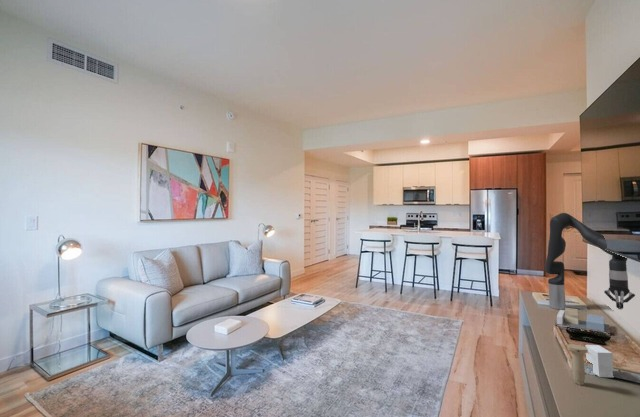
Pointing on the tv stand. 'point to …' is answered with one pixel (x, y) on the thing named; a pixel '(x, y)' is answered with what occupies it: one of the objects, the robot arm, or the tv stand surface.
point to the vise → (581, 324)
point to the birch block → (571, 315)
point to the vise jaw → (595, 322)
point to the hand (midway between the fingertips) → (620, 308)
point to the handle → (578, 362)
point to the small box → (600, 360)
